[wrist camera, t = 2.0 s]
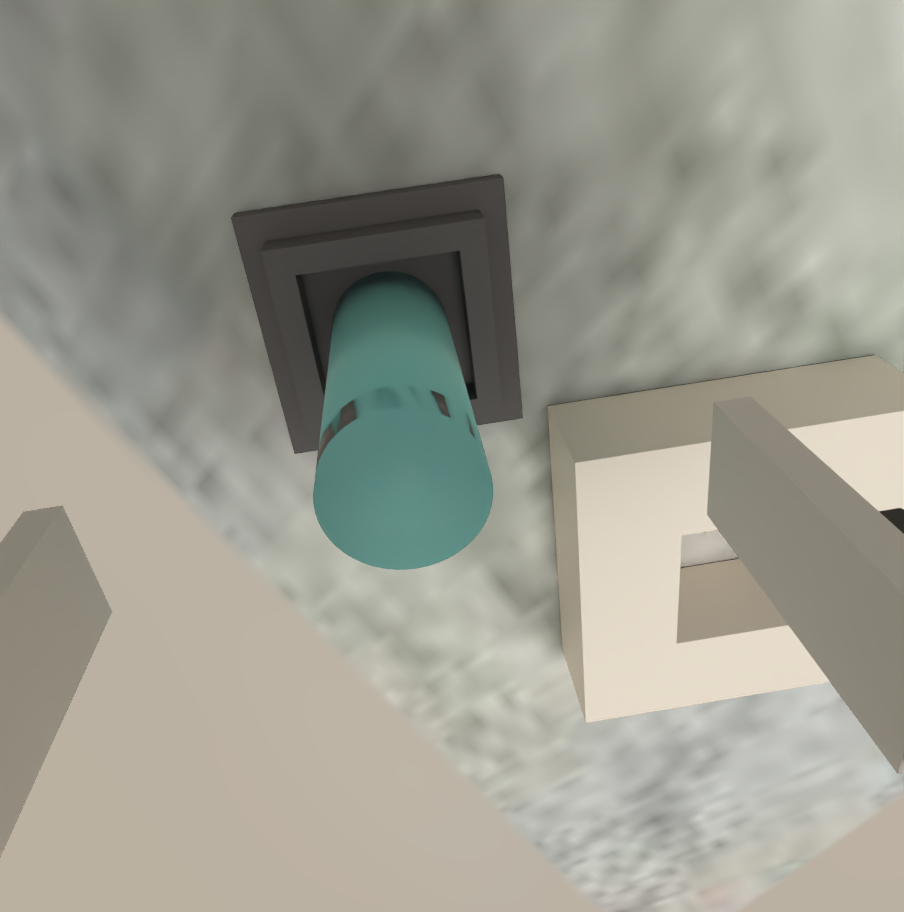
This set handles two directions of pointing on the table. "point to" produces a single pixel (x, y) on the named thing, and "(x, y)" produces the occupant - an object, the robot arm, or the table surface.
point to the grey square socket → (377, 250)
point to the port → (685, 512)
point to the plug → (398, 431)
